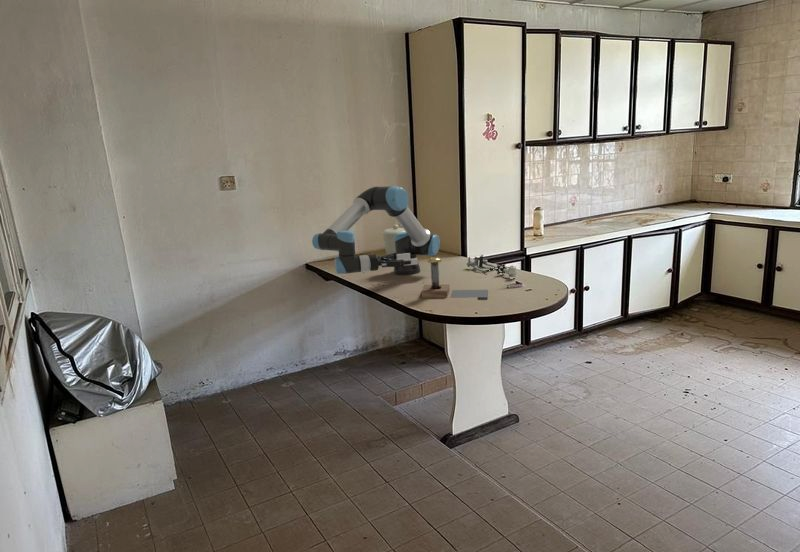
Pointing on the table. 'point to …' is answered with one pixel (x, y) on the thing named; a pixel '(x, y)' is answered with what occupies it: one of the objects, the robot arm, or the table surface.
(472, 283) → the table surface
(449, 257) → the table surface
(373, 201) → the robot arm
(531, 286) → the table surface
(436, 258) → the brass topped pillar
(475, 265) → the bike brake
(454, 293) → the mat
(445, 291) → the eye block
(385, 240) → the canister
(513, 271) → the valve
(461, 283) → the table surface
